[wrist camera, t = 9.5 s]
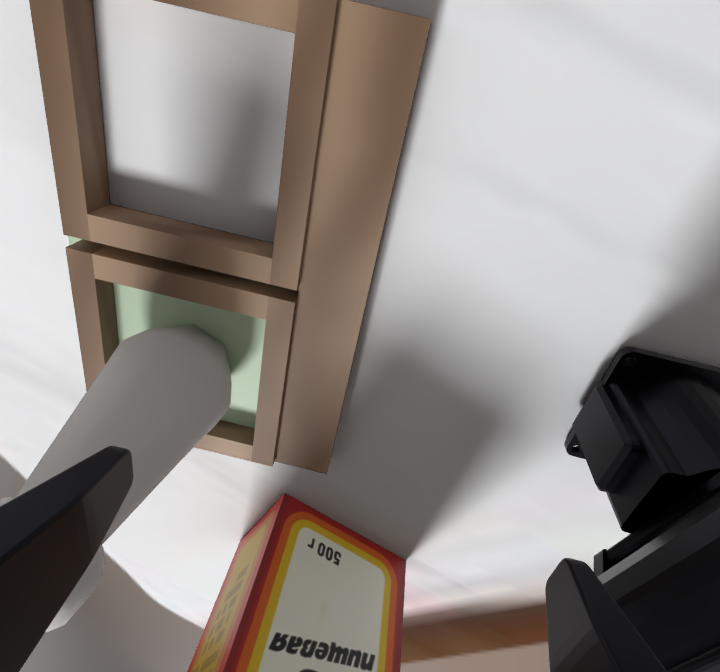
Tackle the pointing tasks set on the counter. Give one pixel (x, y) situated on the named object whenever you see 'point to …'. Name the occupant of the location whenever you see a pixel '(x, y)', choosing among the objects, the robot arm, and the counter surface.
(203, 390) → the salt shaker
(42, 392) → the counter surface
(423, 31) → the frame
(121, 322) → the card
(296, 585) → the baking soda box
